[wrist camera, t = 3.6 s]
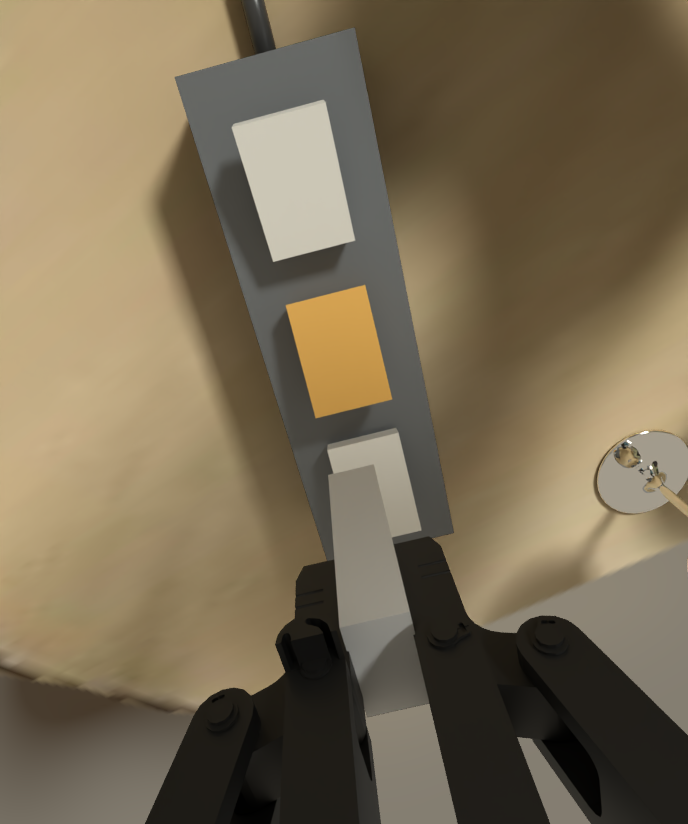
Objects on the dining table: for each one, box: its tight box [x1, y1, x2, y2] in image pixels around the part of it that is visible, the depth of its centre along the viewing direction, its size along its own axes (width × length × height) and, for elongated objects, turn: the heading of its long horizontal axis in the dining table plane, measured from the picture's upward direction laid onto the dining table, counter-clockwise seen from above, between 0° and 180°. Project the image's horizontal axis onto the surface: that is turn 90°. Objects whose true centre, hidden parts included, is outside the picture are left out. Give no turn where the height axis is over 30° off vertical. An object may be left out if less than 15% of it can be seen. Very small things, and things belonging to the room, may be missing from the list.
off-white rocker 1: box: [232, 100, 355, 262], centre depth 27 cm, size 6×4×1 cm
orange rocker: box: [286, 285, 392, 418], centre depth 30 cm, size 6×4×1 cm
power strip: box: [175, 0, 454, 561], centre depth 33 cm, size 36×9×7 cm, turn 14°
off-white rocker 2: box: [327, 428, 421, 537], centre depth 34 cm, size 6×4×1 cm
